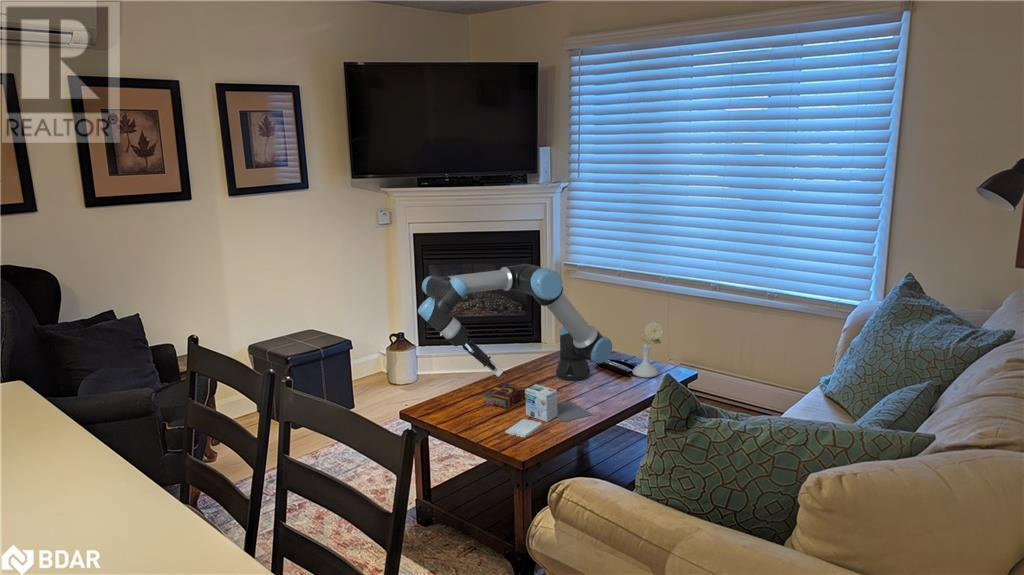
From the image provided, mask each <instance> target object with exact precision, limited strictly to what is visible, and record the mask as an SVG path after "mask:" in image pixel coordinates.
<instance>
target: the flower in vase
mask: <svg viewBox="0 0 1024 575" xmlns="http://www.w3.org/2000/svg"><path fill="white" fill-rule="evenodd" d="M645 326H646V327H645V329H644V333H645V336H646V337H647V338H648V339H650V341H649V342H648V341H647V340H644V339H642V338H641V340H642V341H644V342H646V343H643V344H640V348H641V349H642V361H641V362H640V363H639V364H637V365H636V366H635V367H634V368H633V369H632V371H631V372H632V374H633V375H634V376H637V377H640V378H645V379H648V378H654V377H656V376H658V375H659V371H658V369H657V368H656V367H655V366H654V365H653V364H652V363H650V359H649V355H650V351H651V349H652V348H653V345H651V342H653V344H655V345H659V344H662V341H661V340H660V338H662V336H663V335H664V329H663V326H662V324H661V323H658V322H656V321H652V322H650V323H648V324H646V325H645ZM647 343H648V344H647Z"/></svg>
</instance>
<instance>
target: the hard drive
mask: <svg viewBox="0 0 1024 575" xmlns="http://www.w3.org/2000/svg"><path fill="white" fill-rule="evenodd" d="M542 426H543V422H539V421H536V420H531V419H526V418H523V419H521V420H520V421H517V422H516V423H515V424H514V425H512V426H510V427H509V428H507V429H506V430H505V432H504V433H505V434H509V435H512V436H515V435H516V437H519V436H520V438H523V437H524V438H523V439H525V438H526V436H527V437H528V436H530V435H531V434H532V433H534V432H535V431H537V430H538V429H540V428H541V427H542Z"/></svg>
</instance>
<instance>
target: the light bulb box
mask: <svg viewBox="0 0 1024 575" xmlns="http://www.w3.org/2000/svg"><path fill="white" fill-rule="evenodd" d="M526 388H527V389H525V396H526V398H525V415H526V416H529V417H531V418H533V419H534V418H535V419H537V420H540V421H543V422H546V423H548V422H550V421H552V420H553V419H555V418H558V417H557V404H558V390H557V389H554V388H551V387H547V386H543V385H540V384H537V383H535V384H533V385H532V386H529V387H526Z"/></svg>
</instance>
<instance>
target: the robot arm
mask: <svg viewBox="0 0 1024 575" xmlns="http://www.w3.org/2000/svg"><path fill="white" fill-rule="evenodd" d="M562 279H563V278H562V277H561V275H560V274H559V273H558V272H557V271H555V270H553V269H551V268H548V267H542V266H538V265H535V264H527V263H525V264H524V263H523V264H517V265H511V266H502V267H501V268H500V269H499V270H490V271H481V272H473V273H464V274H457V275H448V276H439V277H437V276H436V275H434V276H432V275H430V276H427V277H425V278H424V279H423V281H422V284H421V290H422V292H423V293H424V294H425V295H427V296H428V297H427V298H426V299H425V300H423V302H422V303H421V304H420V305H419V307H418V309H417V313H418V315H419V316H421V318H422V319H424V321H425V322H427V323H428V324H429V325H430V326H431V327H433V329H434V330H435V331H437V332H438V333H439V335H440V337H442V336H443V338H445V339H446V340H448V343H450V344H451V345H452V346H453V347H458V346H460V345H461V346H462V349H463V350H464V351H466V352H467V353H468V354H470V355H471V356H472V357H473V358H474V359H475V360H476V361H478V362H480V363H481V364H482V365H483V368H485V367H487V369H489V370H490V371H491V372H492V373H493V374H494V375H495V376H496V377H498V378H499V377H500V376H501V375H502V374H503V372H504V370H503V369H502V368H501V367H499V365H498V364H497V363H495V362H494V361H493V360H492V356H491V355H489V356H488V355H487V354H486V352H484V351H483V350H482V349H481V348H480V347H479V346H478V345H477V344H476V343H475V342H474V341H473V339H471V337H469V333H470V331H469V330H468V329H467V328H466V327H465V326H464V325H462V324H461V323H460V321H459V320H458V319H457V318H456V317H454V316H453V315H452V314H451V312H452V311H453V310H454V309H455V307H457V305H458V304H459V303H460V302H461V301H462V299H464V297H465V295H466V294H473V293H481V292H487V291H488V292H489V291H495V290H497V291H498V290H503V291H505V292H506V291H516V292H521V293H524V294H527V295H530V296H531V297H533V298H534V299H535V300H536V302H537V303H538V304H539V305H540V306H542V307H547V309H548V310H549V311H550V312H551V313H552V315H553V317H555V319H556V320H557V321H558V322H559V323H560V324H561V327H560V330H559V331H560V333H559V352H560V353H559V361H558V364H557V368H556V369H555V376H556V377H557V378H559V380H560V379H561V380H563V381H569V382H579V380H580V381H584V380H587V379H589V378H590V377H591V370H590V366H589V363H588V361H590V362H592V363H593V364H594V363H596V364H599V365H600V364H603V363H605V362H606V361H607V360H608V359H609V358H610V356H611V354H612V352H613V342H612V340H611V339H610V338H608V337H607V336H603V335H602V333H601V332H600V331H599V330H598V329H597V327H595V326H593V325H589V323H588V322H587V320H585V318H584V317H583V316H582V315H581V313H580V312H579V310H577V309H576V307H575V306H574V305H573V303H572V302H571V301H570V299H568V297H567V295H565V294H564V286H563V280H562Z"/></svg>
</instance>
